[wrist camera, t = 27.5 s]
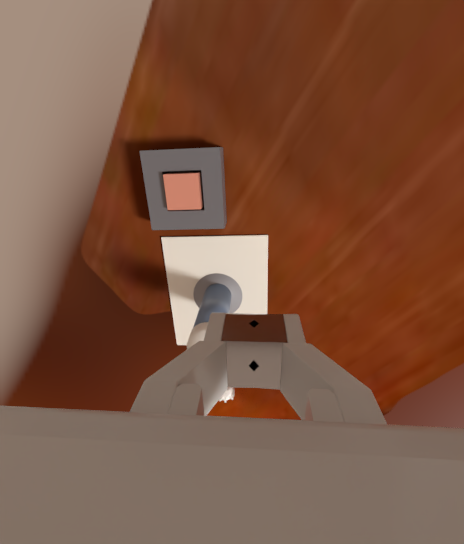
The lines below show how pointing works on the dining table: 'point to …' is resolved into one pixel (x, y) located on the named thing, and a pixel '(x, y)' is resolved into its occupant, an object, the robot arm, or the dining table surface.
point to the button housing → (185, 161)
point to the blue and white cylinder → (209, 310)
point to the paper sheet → (215, 274)
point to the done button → (184, 190)
